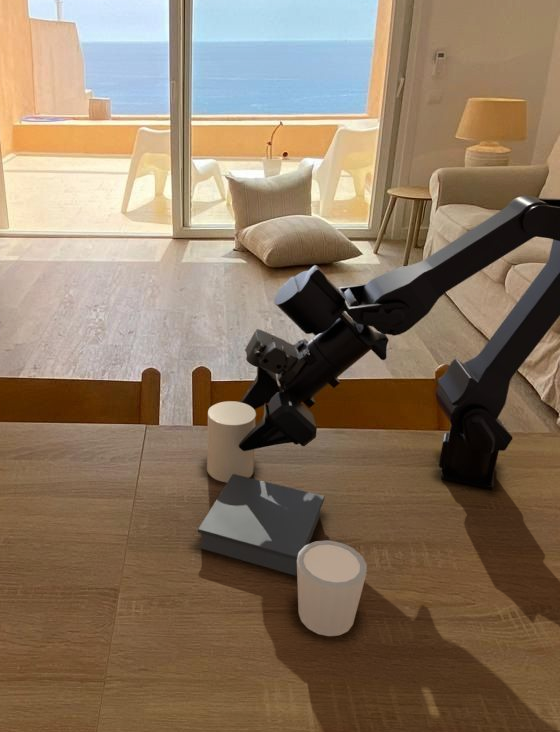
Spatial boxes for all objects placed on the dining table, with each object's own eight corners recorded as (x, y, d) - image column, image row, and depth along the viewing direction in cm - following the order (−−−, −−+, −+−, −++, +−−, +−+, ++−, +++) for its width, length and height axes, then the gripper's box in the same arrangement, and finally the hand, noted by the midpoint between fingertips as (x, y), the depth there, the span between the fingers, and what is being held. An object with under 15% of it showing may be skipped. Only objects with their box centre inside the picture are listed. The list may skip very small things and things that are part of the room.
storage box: (322, 515, 87) (324, 495, 85) (298, 578, 77) (299, 557, 75) (232, 492, 91) (232, 473, 90) (197, 549, 81) (197, 529, 80)
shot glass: (355, 592, 75) (361, 541, 72) (364, 643, 68) (372, 589, 66) (290, 588, 75) (294, 537, 72) (294, 638, 69) (298, 584, 66)
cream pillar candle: (263, 470, 96) (266, 413, 92) (230, 488, 92) (232, 430, 88) (229, 451, 100) (231, 396, 96) (197, 468, 96) (197, 412, 92)
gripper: (277, 288, 95) (196, 361, 100) (294, 344, 78) (196, 429, 83) (331, 341, 98) (250, 409, 103) (358, 406, 81) (260, 484, 86)
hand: (239, 429), depth 93 cm, fingers open, 9 cm apart
